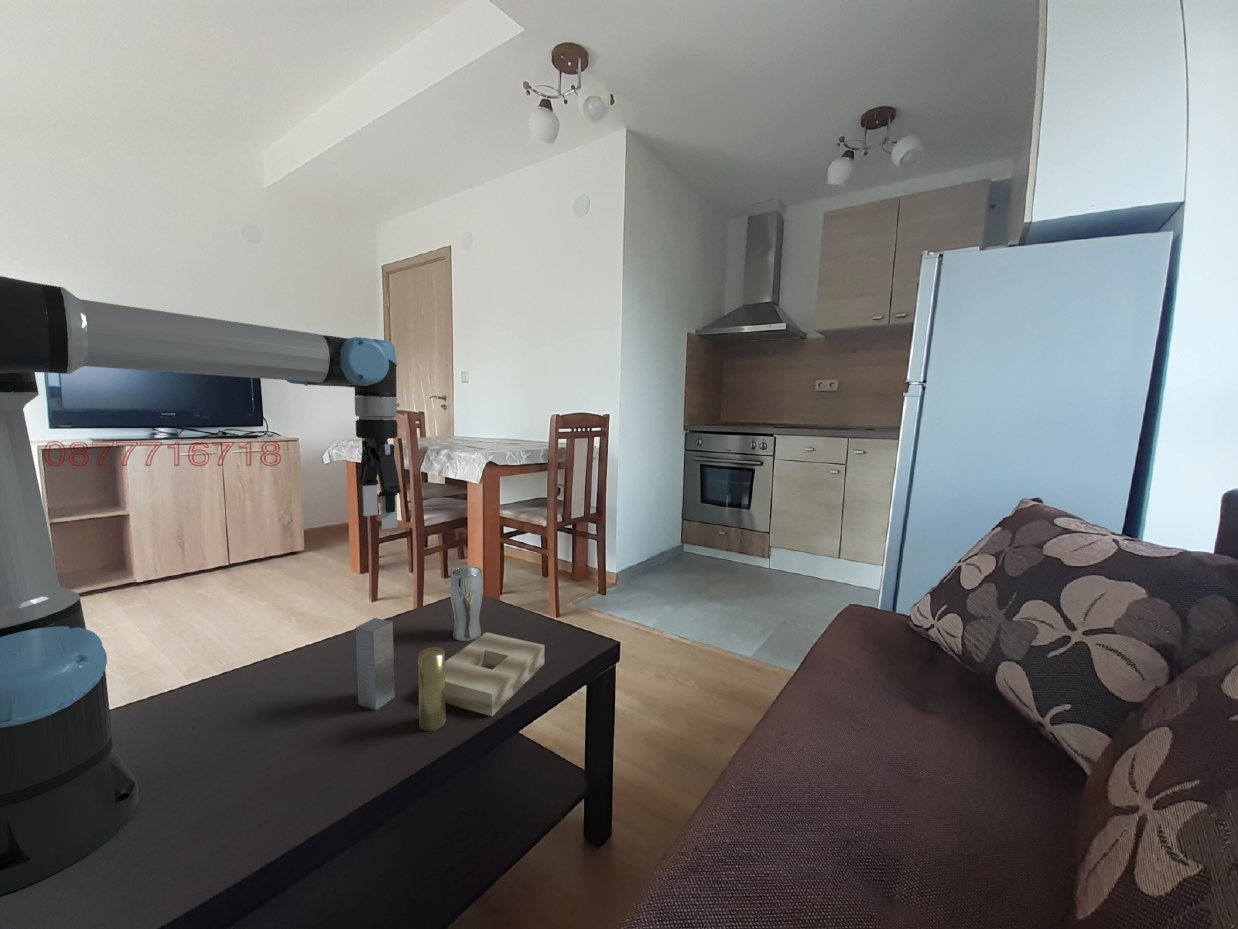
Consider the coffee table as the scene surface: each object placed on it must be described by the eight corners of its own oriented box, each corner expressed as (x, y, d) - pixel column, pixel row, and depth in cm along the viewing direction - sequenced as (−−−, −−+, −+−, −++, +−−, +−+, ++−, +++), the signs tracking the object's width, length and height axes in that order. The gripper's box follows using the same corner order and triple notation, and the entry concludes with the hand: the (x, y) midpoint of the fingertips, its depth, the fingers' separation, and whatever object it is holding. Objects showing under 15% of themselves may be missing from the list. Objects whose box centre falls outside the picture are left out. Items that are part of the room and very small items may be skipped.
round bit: (433, 733, 74) (432, 662, 73) (413, 727, 76) (412, 656, 74) (450, 718, 78) (450, 650, 77) (431, 712, 80) (430, 645, 78)
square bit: (376, 710, 80) (373, 631, 78) (358, 704, 81) (355, 627, 80) (394, 697, 84) (392, 621, 82) (377, 692, 85) (375, 617, 83)
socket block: (492, 716, 79) (492, 694, 79) (425, 697, 84) (424, 676, 83) (544, 663, 96) (544, 645, 95) (486, 650, 101) (486, 632, 100)
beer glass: (449, 631, 109) (448, 568, 107) (480, 626, 112) (480, 564, 110) (452, 644, 102) (451, 578, 101) (485, 639, 105) (485, 574, 104)
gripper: (417, 420, 88) (419, 531, 91) (379, 416, 107) (381, 508, 109) (373, 420, 83) (376, 537, 86) (341, 416, 102) (345, 512, 104)
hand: (379, 521), depth 97 cm, fingers open, 13 cm apart
